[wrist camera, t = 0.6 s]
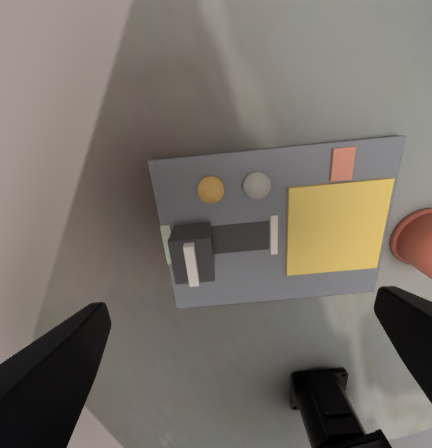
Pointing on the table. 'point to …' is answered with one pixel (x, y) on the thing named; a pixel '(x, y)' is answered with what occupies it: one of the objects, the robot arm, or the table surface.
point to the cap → (414, 240)
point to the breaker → (192, 253)
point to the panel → (282, 217)
